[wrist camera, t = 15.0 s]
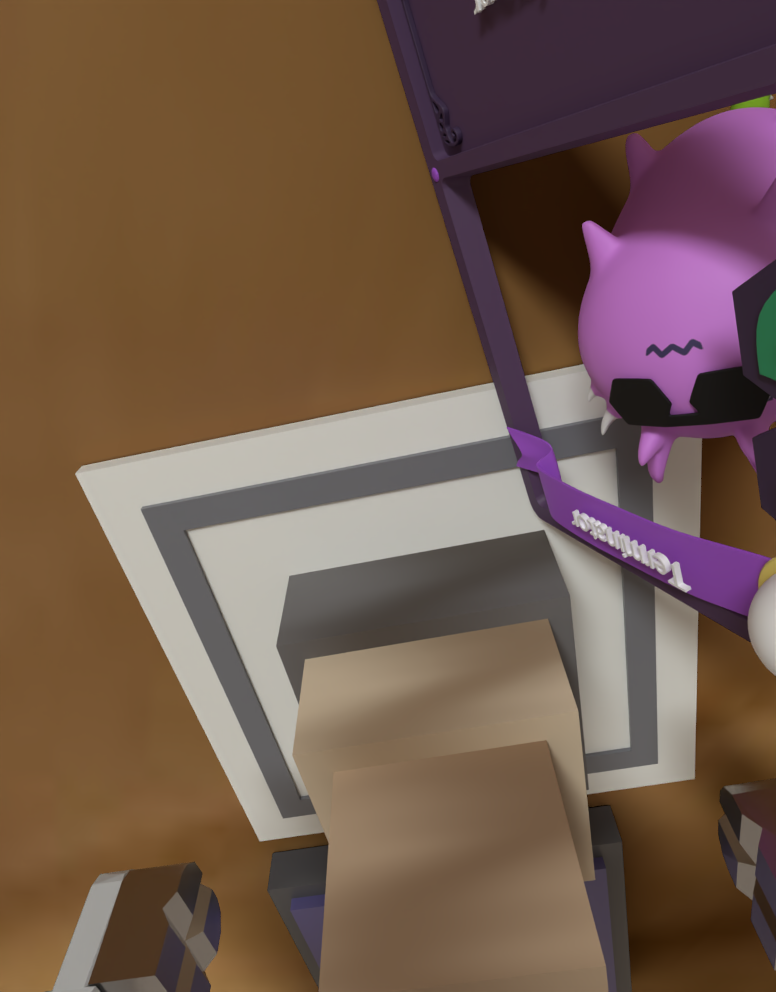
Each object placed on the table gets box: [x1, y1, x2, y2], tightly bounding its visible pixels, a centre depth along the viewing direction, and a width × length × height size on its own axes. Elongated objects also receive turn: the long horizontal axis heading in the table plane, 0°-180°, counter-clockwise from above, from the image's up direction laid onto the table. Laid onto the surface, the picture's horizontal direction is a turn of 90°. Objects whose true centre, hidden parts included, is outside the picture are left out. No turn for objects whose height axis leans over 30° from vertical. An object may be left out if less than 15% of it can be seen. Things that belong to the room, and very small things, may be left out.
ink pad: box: [267, 805, 632, 992], centre depth 19 cm, size 9×9×1 cm
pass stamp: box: [276, 530, 608, 992], centre depth 11 cm, size 5×5×7 cm
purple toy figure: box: [377, 0, 776, 676], centre depth 8 cm, size 7×5×9 cm
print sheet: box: [75, 364, 702, 841], centre depth 14 cm, size 11×11×1 cm
